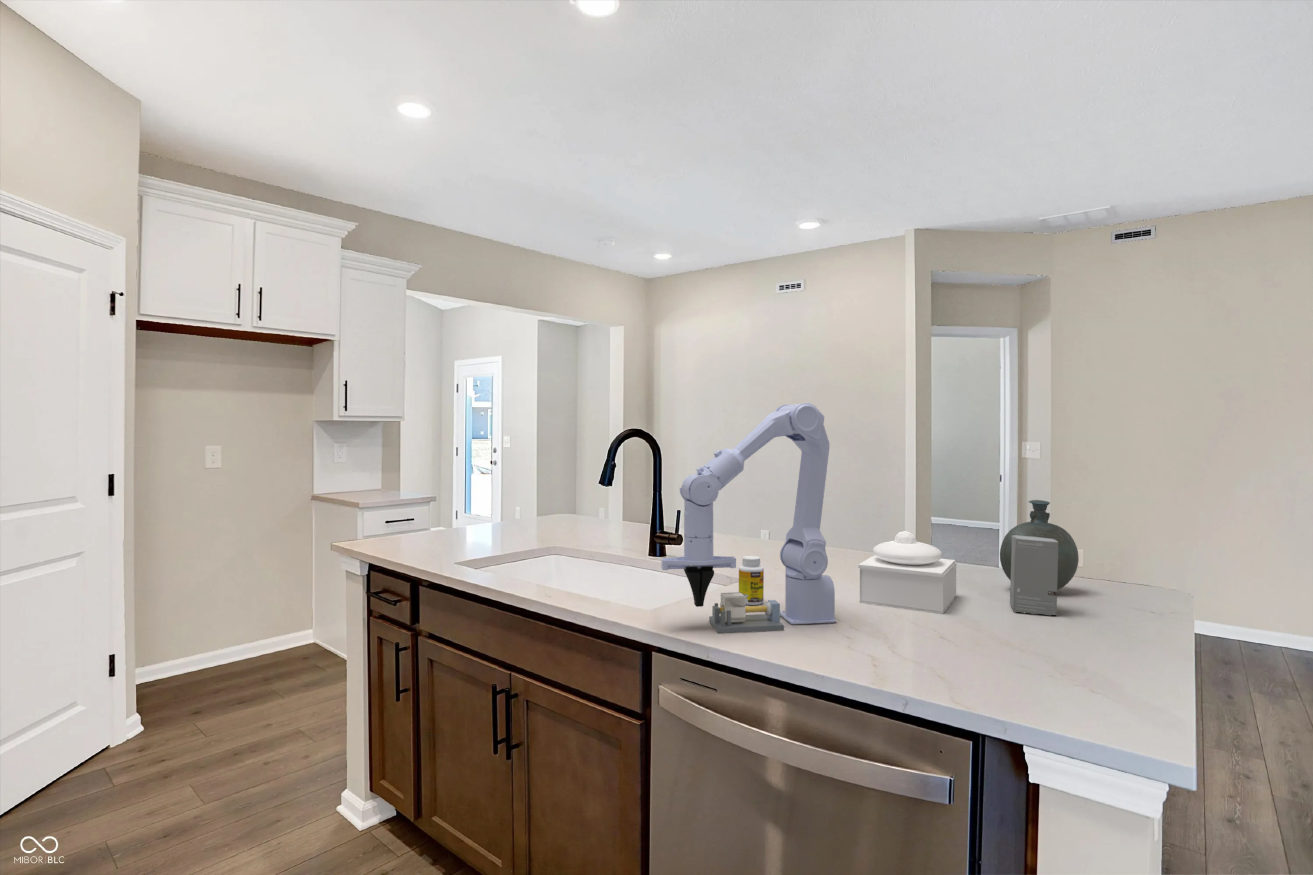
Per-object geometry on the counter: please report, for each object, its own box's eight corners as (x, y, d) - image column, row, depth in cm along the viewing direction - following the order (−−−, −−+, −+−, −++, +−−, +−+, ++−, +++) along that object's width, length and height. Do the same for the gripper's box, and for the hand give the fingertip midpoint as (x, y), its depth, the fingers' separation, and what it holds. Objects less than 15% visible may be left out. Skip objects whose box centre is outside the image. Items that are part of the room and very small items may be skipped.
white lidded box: (956, 597, 152) (956, 529, 152) (942, 615, 137) (942, 540, 137) (879, 587, 162) (879, 523, 162) (858, 603, 147) (858, 533, 147)
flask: (1085, 601, 148) (1086, 504, 148) (1001, 594, 154) (1001, 501, 154) (1075, 589, 159) (1075, 499, 159) (996, 583, 165) (996, 496, 165)
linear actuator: (771, 618, 134) (771, 596, 134) (784, 630, 126) (784, 607, 126) (709, 621, 132) (709, 599, 132) (718, 633, 124) (718, 609, 124)
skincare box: (1013, 613, 138) (1013, 538, 138) (1009, 605, 145) (1009, 533, 145) (1059, 617, 135) (1059, 540, 135) (1053, 608, 142) (1053, 535, 142)
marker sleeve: (740, 616, 131) (740, 592, 131) (745, 621, 127) (745, 596, 127) (720, 616, 130) (720, 592, 130) (725, 622, 127) (725, 597, 127)
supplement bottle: (750, 607, 143) (750, 560, 143) (733, 601, 148) (733, 556, 148) (768, 603, 146) (768, 557, 146) (752, 598, 151) (752, 554, 151)
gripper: (729, 532, 133) (729, 598, 133) (659, 533, 131) (659, 601, 131) (738, 537, 126) (738, 608, 126) (664, 539, 124) (664, 610, 124)
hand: (698, 605), depth 128 cm, fingers closed
